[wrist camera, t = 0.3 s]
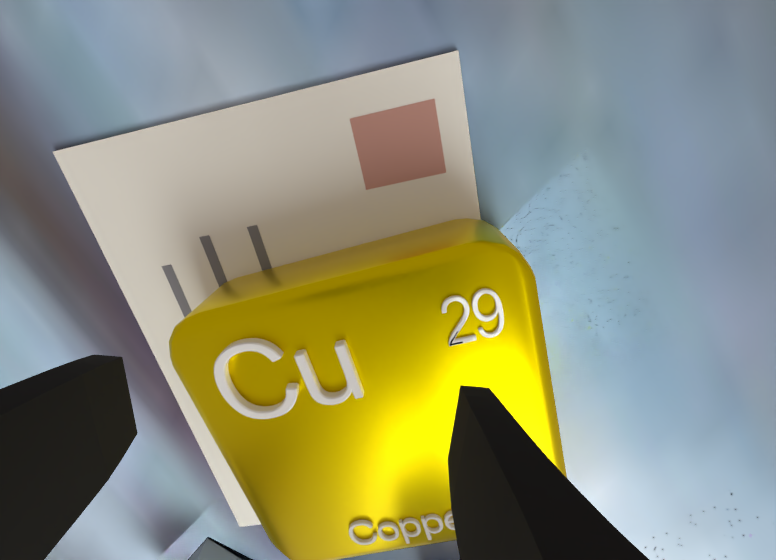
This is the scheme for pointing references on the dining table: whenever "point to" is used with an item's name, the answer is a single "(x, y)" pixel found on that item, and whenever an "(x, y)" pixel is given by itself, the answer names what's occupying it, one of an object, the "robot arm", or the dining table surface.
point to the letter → (271, 195)
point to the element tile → (365, 382)
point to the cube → (216, 552)
